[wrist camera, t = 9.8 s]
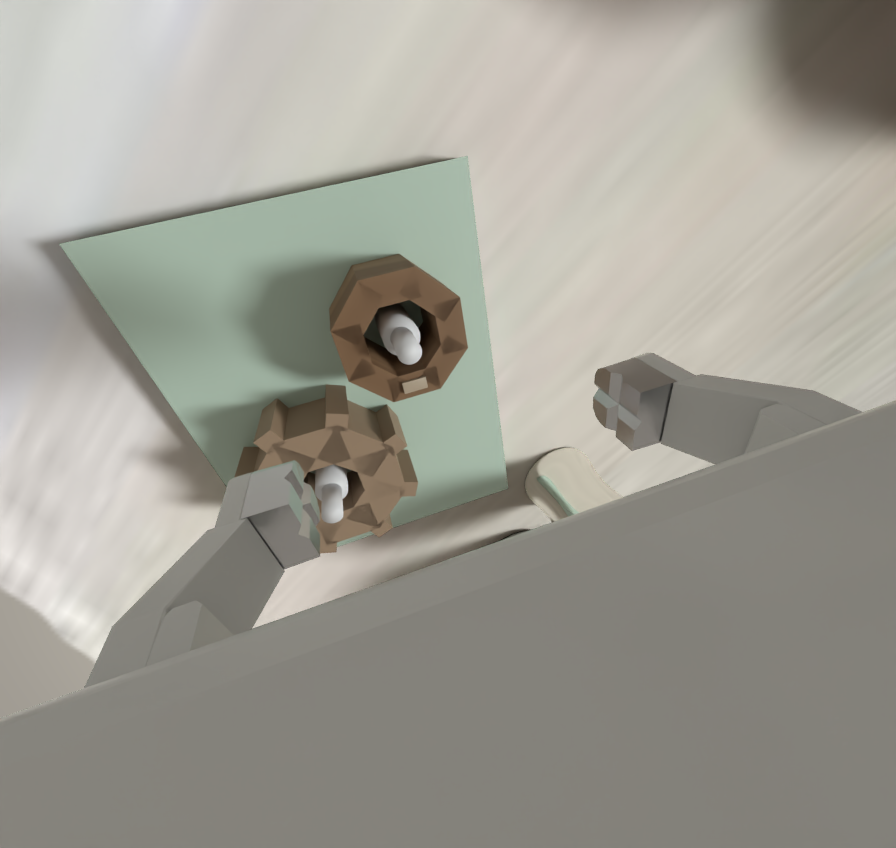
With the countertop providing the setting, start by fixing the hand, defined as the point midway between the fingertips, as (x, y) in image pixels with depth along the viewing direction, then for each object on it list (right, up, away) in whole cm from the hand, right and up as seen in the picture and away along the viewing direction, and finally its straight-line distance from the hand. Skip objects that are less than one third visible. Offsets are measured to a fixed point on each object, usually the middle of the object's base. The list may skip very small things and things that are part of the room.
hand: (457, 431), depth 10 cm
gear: (-3, +6, +11) cm, 13 cm away
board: (-6, +2, +14) cm, 16 cm away
